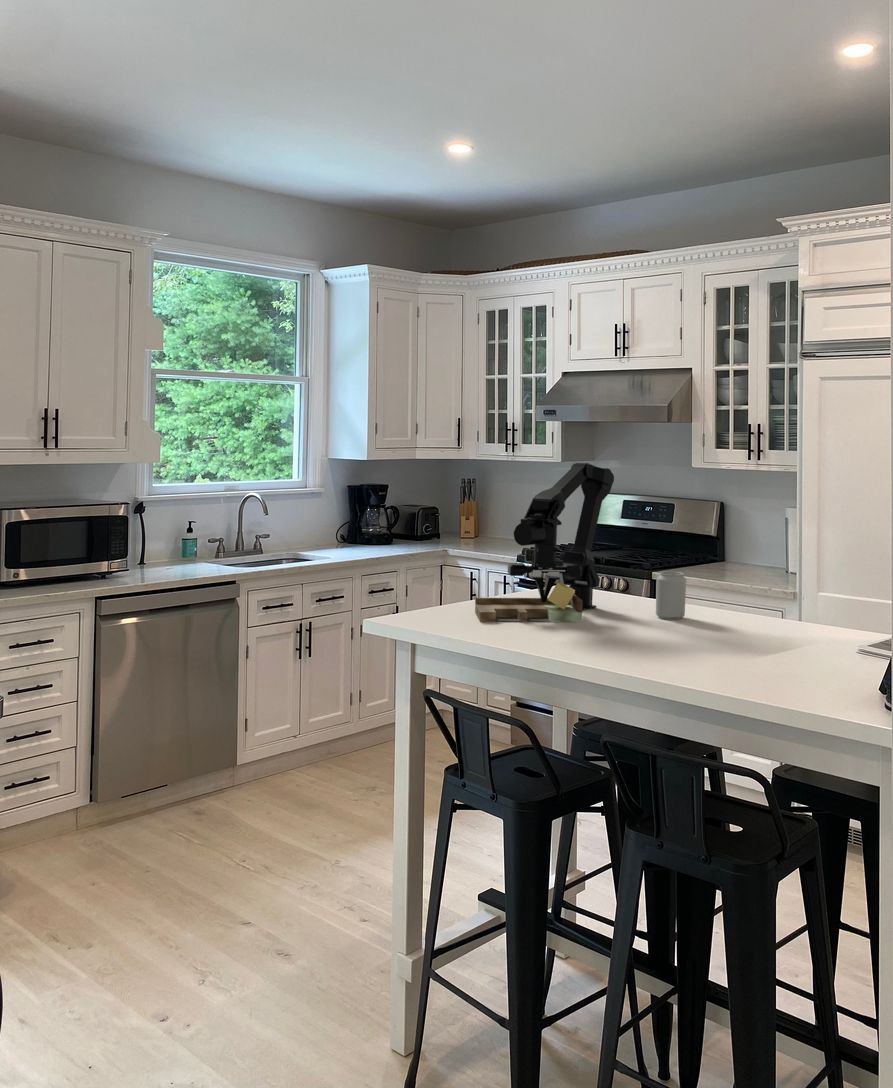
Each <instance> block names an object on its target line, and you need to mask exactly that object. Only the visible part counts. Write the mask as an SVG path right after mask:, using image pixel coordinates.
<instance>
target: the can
mask: <svg viewBox="0 0 893 1088" xmlns="http://www.w3.org/2000/svg"><path fill="white" fill-rule="evenodd" d="M684 575H685V573H683V572H680V571H660V572H659V576H658V577H657V578H656V592H655V593H656V596H655V615H656V616H657V618H658V619H661V620H668V621H669V620H670V621H677V620H681V619H682V618H683V617H685V615H686V596H687V595H686V592H687V578H685V576H684Z"/></svg>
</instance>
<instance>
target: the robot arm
mask: <svg viewBox="0 0 893 1088" xmlns="http://www.w3.org/2000/svg"><path fill="white" fill-rule="evenodd" d="M614 481H615V476H614V473H613V472H612V470H611V469H610V468H608V467H600V466H596V465H594V464H591V463H589V462H575V463H573V464H572V465H571V467H570V469H569V470H568V471H566V473H565V474H564V475H563V476H562V477H561V478H560V479H559V480H558V481H557V482H556V483H555V484H553V486H552V487H550V488H547V489H545V490H542V491H540V492H539V493H537V494H536V495H534V496H533V498H532V500H531V502H530V504H529V506H528V509H527V511H526V513H525V514H524V517H523V518H520V523H519V524H518V525H516V526H515V529H514V531H513V538H514V541H515V543H517V544H518V546H524V547H525V546H532V545H534V548H533V549H534V550H532V549H525V550H524V562H509V563H508V565H507V575H509V576H510V577H511V576H512V577H523V576H524V575H526V574H529V575H528V576H529V577H530V579H531V580H534V582H535V584H536V586H537V587H536V588H537V590H538V594H539V598H541V601H542V603H545V602H546V600H547V598H549V596H550V594H551V593H550V592H551V590H552V588H553V586H554V584H555V583H556V581H557V580H558V581H560V579H561V578H560V576H559V575H560V574H561V575H562V581H563V582H562V583H564V584H565V585H567V586H569V587H570V588H572V589H574V590H575V593H574V594H575V595H576V596H577V597H579V598H580V599H581V600H582V601H583V603H582V611H583V610H589V609H594V608H595V609H596V608H597V605H593V593H594V592H593V591H594V588H597V587H599V585H600V580H601V578H600V577H599V575H598V573H597V571H596V570H595V558H594V556H593V552H592V550H593V544H594V540H595V539H594V538H595V534H596V530H597V526H598V521H599V516H600V512H601V507H602V503H603V501H604V499H605V498H606V497H607V496H609V494H610V493H611V490H612V487H613V484H614ZM579 487H580V488H581V490H582V493H583V496H584V497H583V502H582V507H581V511H580V516H579V520H578V526H577V529H576V535H575V538H574V543H573V547H572V548H571V549H570V550H569V551H568V550H566V551H565V552H564V553H563V560H562V562H561V565H560V566H557V545H558V544H557V540H558V526H562V522H561V520H560V519H558V517H559V516H560V515H561V514H562V512H563V511H564V509H565V508H566V501H567V499H568V498H569V497H570V496H571V495H572V494H573V493H574V492H575V491H576V490H577V489H578V488H579ZM525 563H527V564H528V563H531V565H526V564H525ZM542 574H544V577H545V578H544V577H543V575H542ZM529 577H528V578H529ZM544 580H545V581H544Z"/></svg>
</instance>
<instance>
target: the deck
mask: <svg viewBox="0 0 893 1088" xmlns="http://www.w3.org/2000/svg"><path fill="white" fill-rule="evenodd" d="M548 598H549V597H547V600H546V602H545V603H542V601H541V598H540V597H475V599H474V613H475V615H476V617H477V619H478V622H480V623H583V610H582V603H583V601H582V600H581V599H580V598H579V597H577V596H576V595H575V594H574V595H573V596H572V598H571V600H570V601H569V603H568V605H567V606H566V608H565V609H562V608H560V607H559V606H557V605H555V604H554V603H552V602H550V601H549V600H548Z"/></svg>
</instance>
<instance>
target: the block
mask: <svg viewBox="0 0 893 1088" xmlns="http://www.w3.org/2000/svg"><path fill="white" fill-rule="evenodd" d="M550 592H551V593H549V595H548V597H547V598H548V600H549V601H550V602H552V603H554V604H555V605H557V606H559V607H560V608H562V609H565V608H566V606H567V605H568V603H569V601H570V600H571V598H572V596H573V595H574V593H575V590H574V589H572V588H570V587H569V585H568V584H564V582H562V581H560V580H558V581H557V583H556V585H555V586H554V587H553V589H552V591H550Z"/></svg>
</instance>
